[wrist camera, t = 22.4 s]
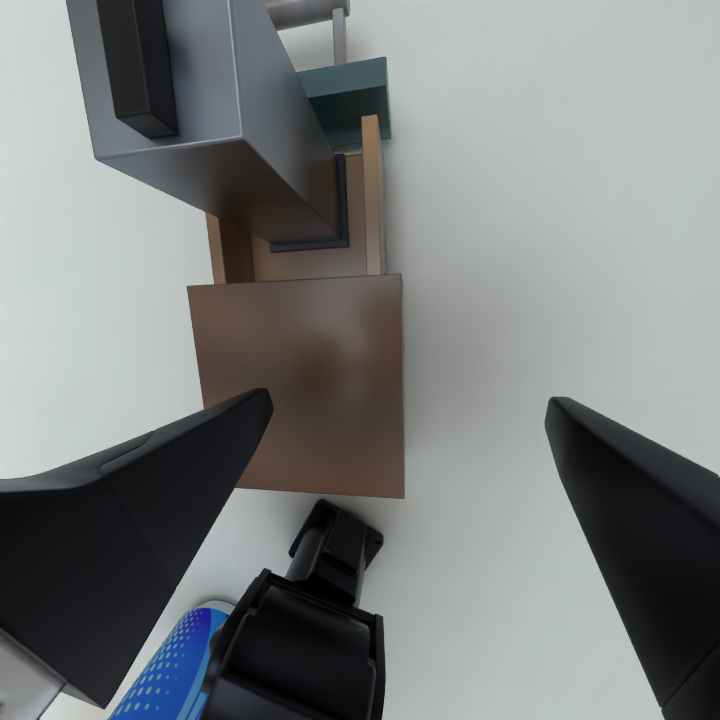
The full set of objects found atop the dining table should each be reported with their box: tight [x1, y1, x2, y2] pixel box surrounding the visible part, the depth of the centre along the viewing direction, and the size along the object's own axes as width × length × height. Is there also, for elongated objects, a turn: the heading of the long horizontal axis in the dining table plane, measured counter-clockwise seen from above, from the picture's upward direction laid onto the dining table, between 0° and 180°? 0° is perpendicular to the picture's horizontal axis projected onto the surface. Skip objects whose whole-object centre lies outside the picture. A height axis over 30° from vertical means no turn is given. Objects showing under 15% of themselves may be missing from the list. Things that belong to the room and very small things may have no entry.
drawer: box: [205, 0, 391, 284], centre depth 17 cm, size 17×11×5 cm, turn 2°
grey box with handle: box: [66, 0, 349, 253], centre depth 13 cm, size 5×5×13 cm
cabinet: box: [187, 274, 405, 499], centre depth 20 cm, size 13×12×6 cm
